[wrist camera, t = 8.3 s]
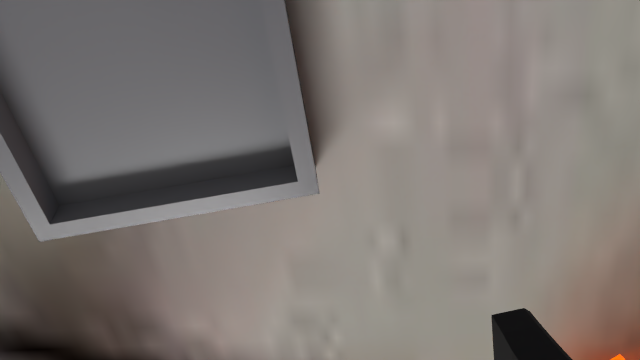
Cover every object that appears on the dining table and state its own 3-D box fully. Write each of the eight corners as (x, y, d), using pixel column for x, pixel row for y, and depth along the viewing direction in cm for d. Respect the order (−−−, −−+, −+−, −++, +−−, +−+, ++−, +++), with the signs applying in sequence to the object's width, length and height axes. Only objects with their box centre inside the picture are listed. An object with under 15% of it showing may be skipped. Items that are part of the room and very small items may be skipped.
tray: (252, -180, 14) (251, -178, 12) (315, 168, 19) (319, 193, 18) (-119, -113, 14) (-157, -105, 12) (53, 213, 19) (39, 241, 18)
